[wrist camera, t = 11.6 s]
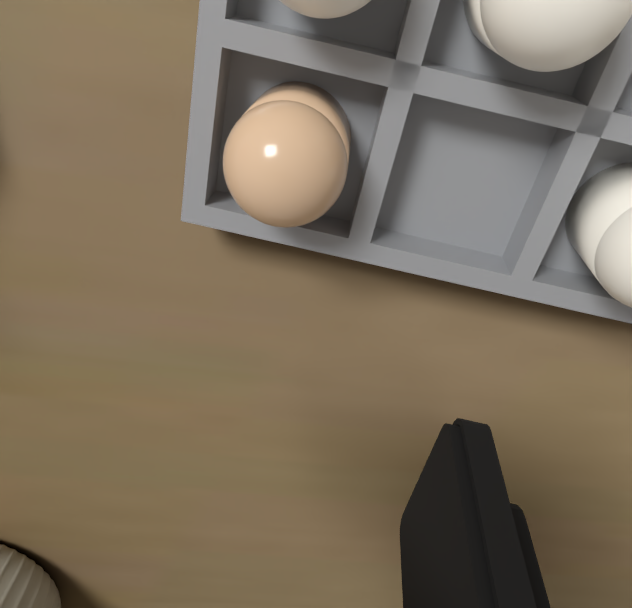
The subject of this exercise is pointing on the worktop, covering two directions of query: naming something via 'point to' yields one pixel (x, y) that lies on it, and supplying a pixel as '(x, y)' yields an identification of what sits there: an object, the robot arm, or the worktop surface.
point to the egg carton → (443, 136)
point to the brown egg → (288, 155)
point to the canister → (25, 582)
